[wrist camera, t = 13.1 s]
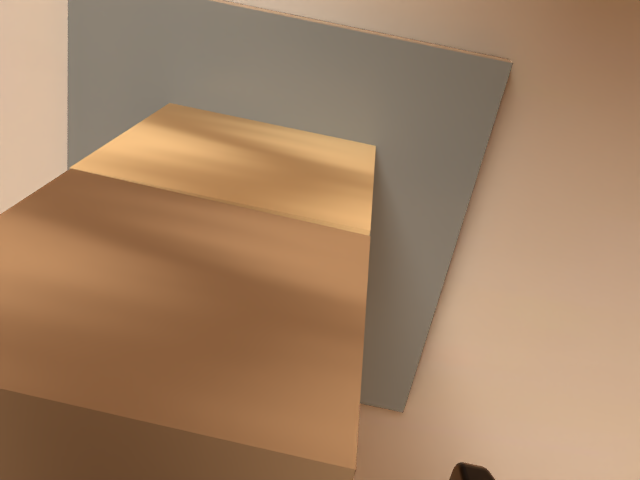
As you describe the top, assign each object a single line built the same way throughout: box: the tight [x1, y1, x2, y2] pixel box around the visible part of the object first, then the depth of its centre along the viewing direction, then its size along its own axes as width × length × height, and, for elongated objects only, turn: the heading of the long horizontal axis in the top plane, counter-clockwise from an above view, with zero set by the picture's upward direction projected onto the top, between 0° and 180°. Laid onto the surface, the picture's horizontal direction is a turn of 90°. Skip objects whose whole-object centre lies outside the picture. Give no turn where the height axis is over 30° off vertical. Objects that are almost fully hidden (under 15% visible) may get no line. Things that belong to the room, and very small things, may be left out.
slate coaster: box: [67, 0, 513, 412], centre depth 16 cm, size 10×10×1 cm
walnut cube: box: [0, 169, 370, 480], centre depth 9 cm, size 5×5×5 cm
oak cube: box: [70, 103, 376, 236], centre depth 13 cm, size 5×5×5 cm
